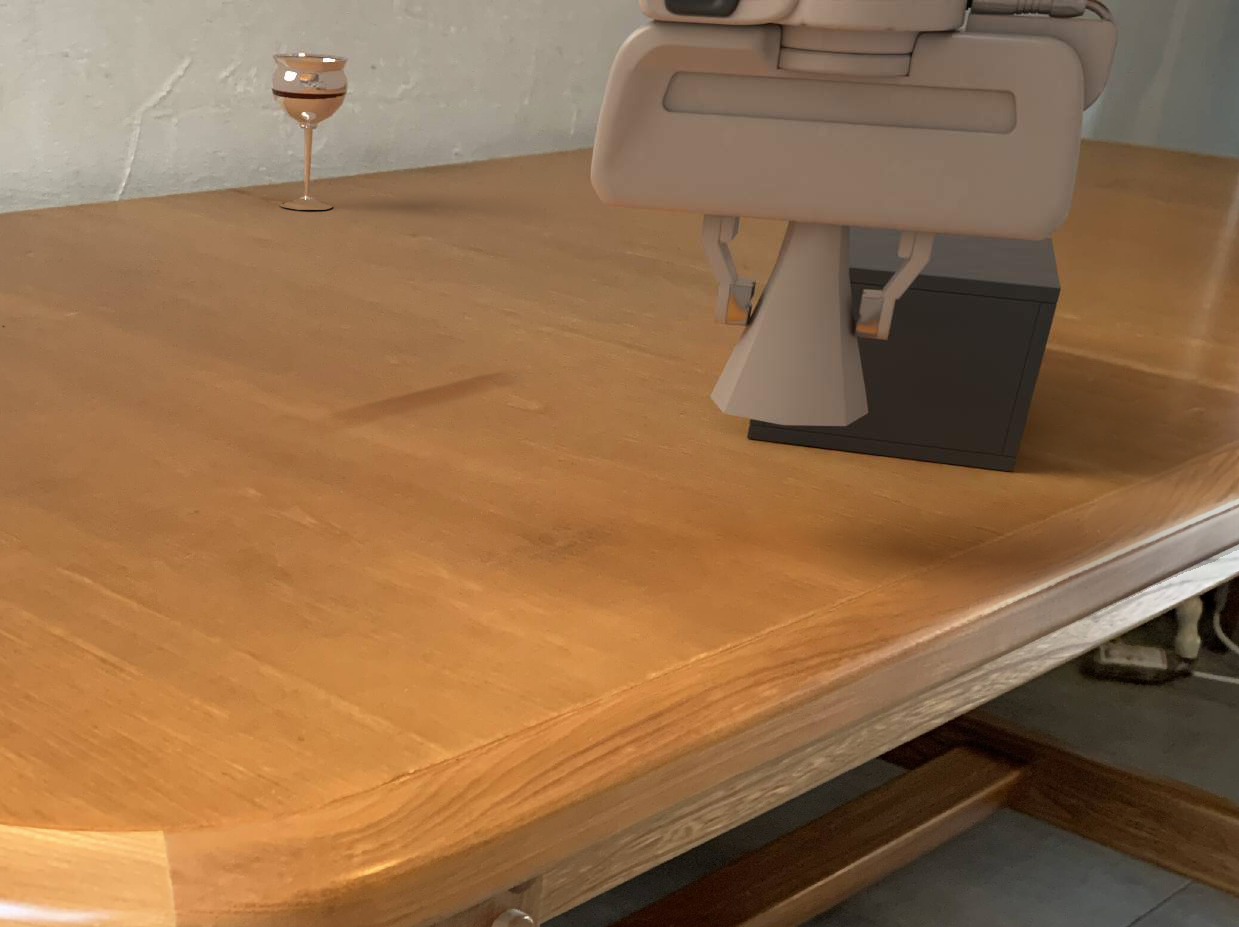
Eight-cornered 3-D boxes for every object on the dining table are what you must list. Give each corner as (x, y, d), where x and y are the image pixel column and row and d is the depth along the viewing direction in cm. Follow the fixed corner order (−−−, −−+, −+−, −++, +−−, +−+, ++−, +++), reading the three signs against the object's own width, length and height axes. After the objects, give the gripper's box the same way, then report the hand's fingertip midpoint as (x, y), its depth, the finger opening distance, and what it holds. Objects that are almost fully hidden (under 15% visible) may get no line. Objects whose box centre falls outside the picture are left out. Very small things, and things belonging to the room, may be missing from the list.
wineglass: (358, 208, 154) (364, 59, 148) (306, 215, 150) (310, 63, 144) (305, 197, 158) (309, 51, 152) (253, 204, 154) (255, 54, 147)
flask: (869, 399, 81) (914, 169, 75) (864, 439, 75) (913, 193, 69) (716, 384, 82) (750, 158, 77) (700, 422, 76) (735, 181, 71)
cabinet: (774, 375, 109) (802, 214, 104) (1010, 402, 105) (1052, 237, 100) (746, 438, 96) (777, 259, 91) (1013, 471, 93) (1061, 287, 88)
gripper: (1125, -17, 69) (1038, 336, 77) (629, -40, 74) (593, 294, 81) (1137, -9, 64) (1042, 368, 72) (603, -34, 69) (568, 322, 76)
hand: (800, 329), depth 77 cm, fingers closed on flask, 5 cm apart
